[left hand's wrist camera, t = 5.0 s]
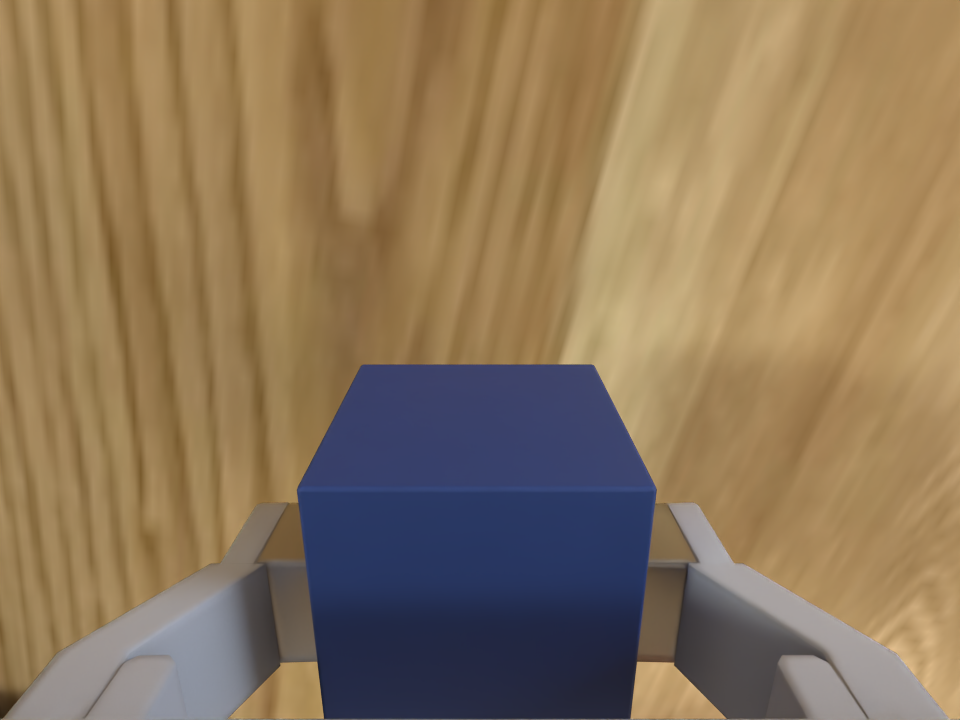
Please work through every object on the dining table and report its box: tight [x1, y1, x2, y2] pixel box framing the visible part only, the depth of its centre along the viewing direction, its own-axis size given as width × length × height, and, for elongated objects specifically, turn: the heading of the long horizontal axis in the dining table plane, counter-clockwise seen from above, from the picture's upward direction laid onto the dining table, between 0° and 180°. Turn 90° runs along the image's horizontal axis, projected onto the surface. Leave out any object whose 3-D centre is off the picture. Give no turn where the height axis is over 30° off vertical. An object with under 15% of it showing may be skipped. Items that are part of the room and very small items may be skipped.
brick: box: [297, 365, 657, 719], centre depth 10 cm, size 4×5×4 cm
